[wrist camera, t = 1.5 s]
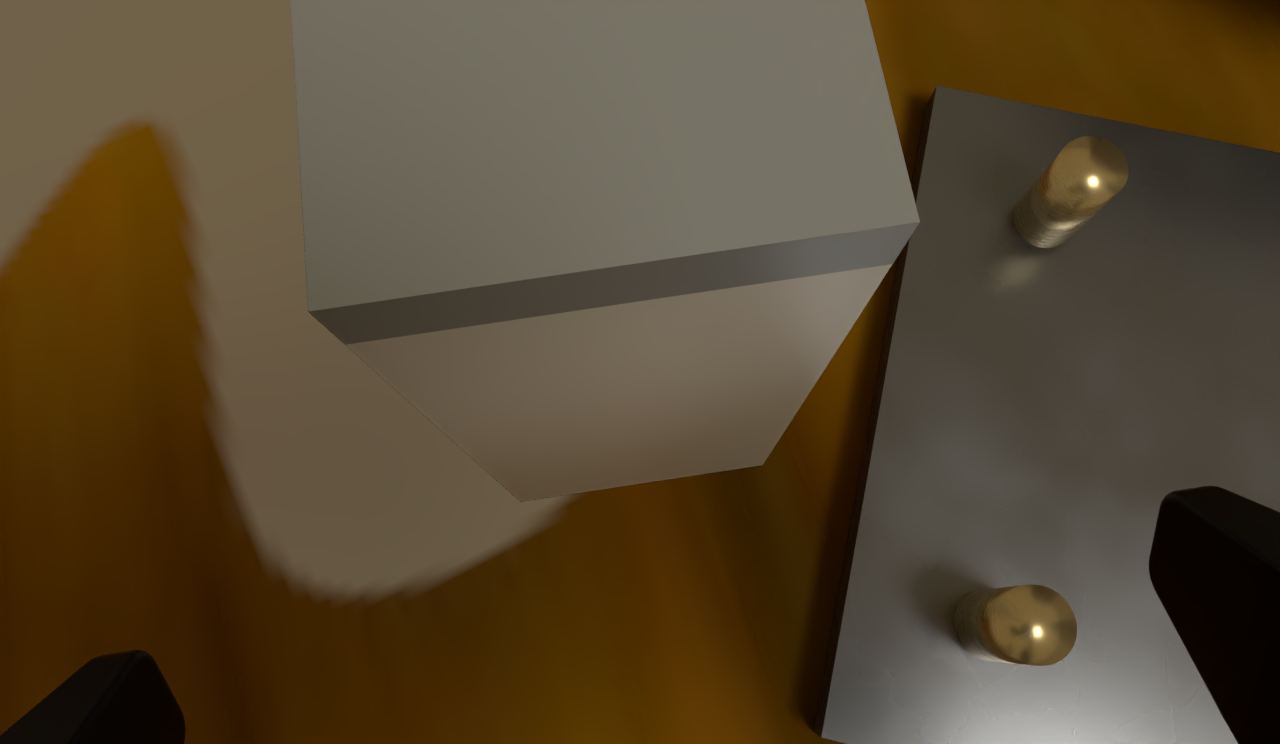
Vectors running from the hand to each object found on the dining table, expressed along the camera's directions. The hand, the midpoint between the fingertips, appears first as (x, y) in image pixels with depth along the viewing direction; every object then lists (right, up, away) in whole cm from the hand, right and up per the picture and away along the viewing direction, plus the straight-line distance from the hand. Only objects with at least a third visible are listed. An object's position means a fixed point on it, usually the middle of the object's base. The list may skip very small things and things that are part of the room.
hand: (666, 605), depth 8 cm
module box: (-1, +2, +13) cm, 13 cm away
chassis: (+12, 0, +12) cm, 18 cm away
